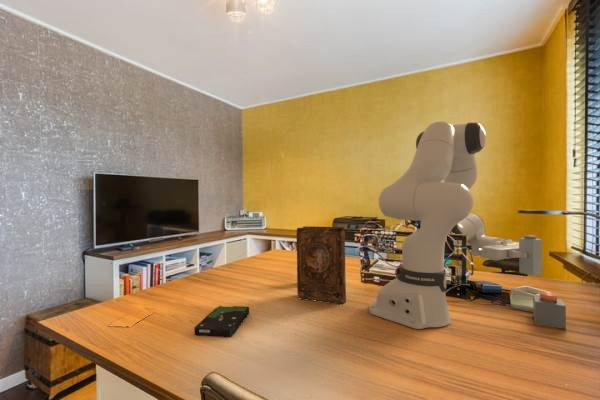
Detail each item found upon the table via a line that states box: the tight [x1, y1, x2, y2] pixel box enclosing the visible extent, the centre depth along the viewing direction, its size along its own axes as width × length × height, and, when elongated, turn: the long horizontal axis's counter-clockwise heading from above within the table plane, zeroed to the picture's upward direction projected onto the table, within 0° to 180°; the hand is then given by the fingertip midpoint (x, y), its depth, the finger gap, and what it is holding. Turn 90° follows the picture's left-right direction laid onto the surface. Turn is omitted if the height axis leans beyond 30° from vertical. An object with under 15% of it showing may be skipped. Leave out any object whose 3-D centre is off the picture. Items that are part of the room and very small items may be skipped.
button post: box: [532, 294, 567, 330], centre depth 76 cm, size 6×6×6 cm
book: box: [296, 225, 347, 305], centre depth 96 cm, size 16×6×25 cm, turn 68°
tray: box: [509, 293, 533, 313], centre depth 86 cm, size 10×10×2 cm
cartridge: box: [518, 234, 543, 277], centre depth 95 cm, size 4×4×13 cm
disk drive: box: [194, 305, 250, 338], centre depth 78 cm, size 10×3×15 cm
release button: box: [540, 292, 558, 302], centre depth 76 cm, size 4×4×6 cm
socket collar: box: [510, 285, 553, 297], centre depth 95 cm, size 8×8×2 cm
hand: (533, 255), depth 94 cm, fingers closed on cartridge, 4 cm apart
